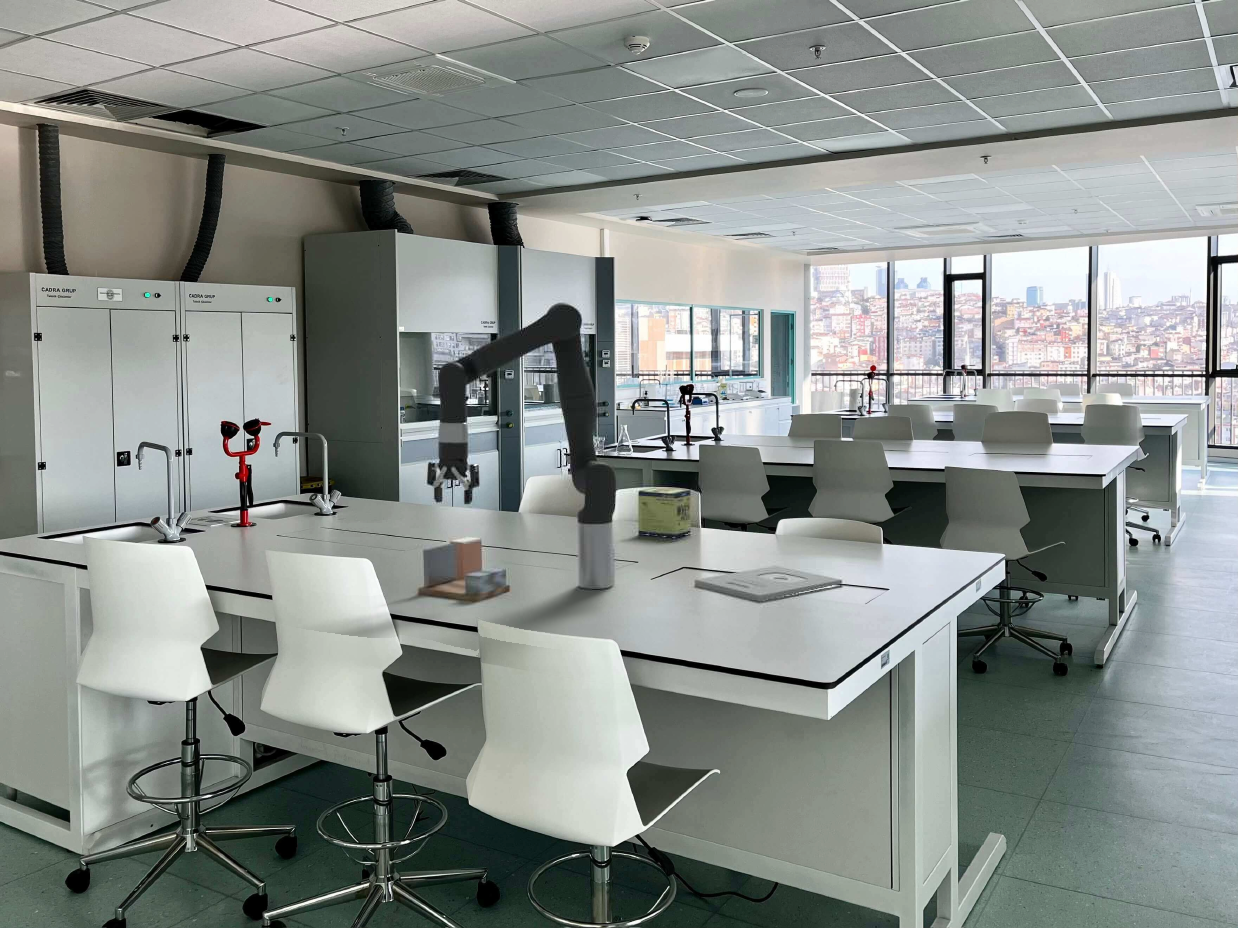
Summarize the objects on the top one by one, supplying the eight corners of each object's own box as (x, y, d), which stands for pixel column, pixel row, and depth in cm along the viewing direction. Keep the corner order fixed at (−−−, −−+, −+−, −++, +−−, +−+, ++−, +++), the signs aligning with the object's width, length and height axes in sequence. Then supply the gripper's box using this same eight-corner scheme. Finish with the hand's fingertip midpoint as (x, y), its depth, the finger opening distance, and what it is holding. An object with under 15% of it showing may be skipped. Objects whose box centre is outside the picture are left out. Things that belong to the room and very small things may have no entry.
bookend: (452, 578, 280) (451, 543, 279) (456, 578, 279) (455, 543, 278) (424, 585, 271) (423, 549, 270) (428, 586, 270) (427, 550, 269)
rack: (453, 583, 282) (453, 561, 281) (509, 590, 272) (509, 568, 272) (418, 593, 270) (417, 570, 270) (475, 601, 260) (475, 577, 260)
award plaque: (694, 587, 276) (694, 579, 276) (775, 573, 294) (775, 565, 293) (759, 604, 256) (759, 595, 256) (842, 587, 274) (842, 579, 274)
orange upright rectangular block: (469, 576, 292) (468, 536, 291) (482, 577, 290) (481, 538, 288) (450, 581, 285) (449, 541, 284) (463, 583, 283) (462, 542, 282)
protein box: (676, 538, 352) (676, 493, 351) (637, 535, 360) (637, 490, 359) (691, 534, 361) (691, 489, 359) (653, 531, 369) (652, 487, 368)
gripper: (484, 440, 268) (484, 503, 269) (437, 438, 273) (437, 500, 274) (469, 442, 261) (469, 506, 262) (421, 440, 266) (421, 503, 267)
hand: (453, 503), depth 268 cm, fingers open, 8 cm apart
